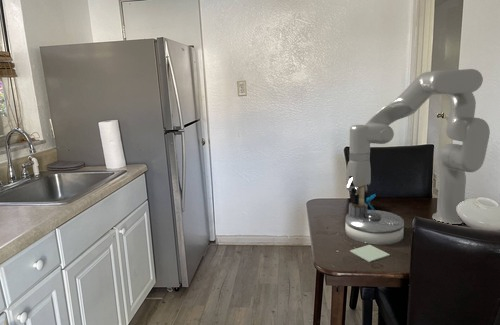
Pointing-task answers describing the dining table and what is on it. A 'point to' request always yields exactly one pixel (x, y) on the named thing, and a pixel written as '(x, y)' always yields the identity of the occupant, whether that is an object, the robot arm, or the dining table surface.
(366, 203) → the teal angled piece
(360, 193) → the beige cylinder
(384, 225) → the chuck collar
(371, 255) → the mat
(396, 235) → the chuck base
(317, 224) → the dining table surface
